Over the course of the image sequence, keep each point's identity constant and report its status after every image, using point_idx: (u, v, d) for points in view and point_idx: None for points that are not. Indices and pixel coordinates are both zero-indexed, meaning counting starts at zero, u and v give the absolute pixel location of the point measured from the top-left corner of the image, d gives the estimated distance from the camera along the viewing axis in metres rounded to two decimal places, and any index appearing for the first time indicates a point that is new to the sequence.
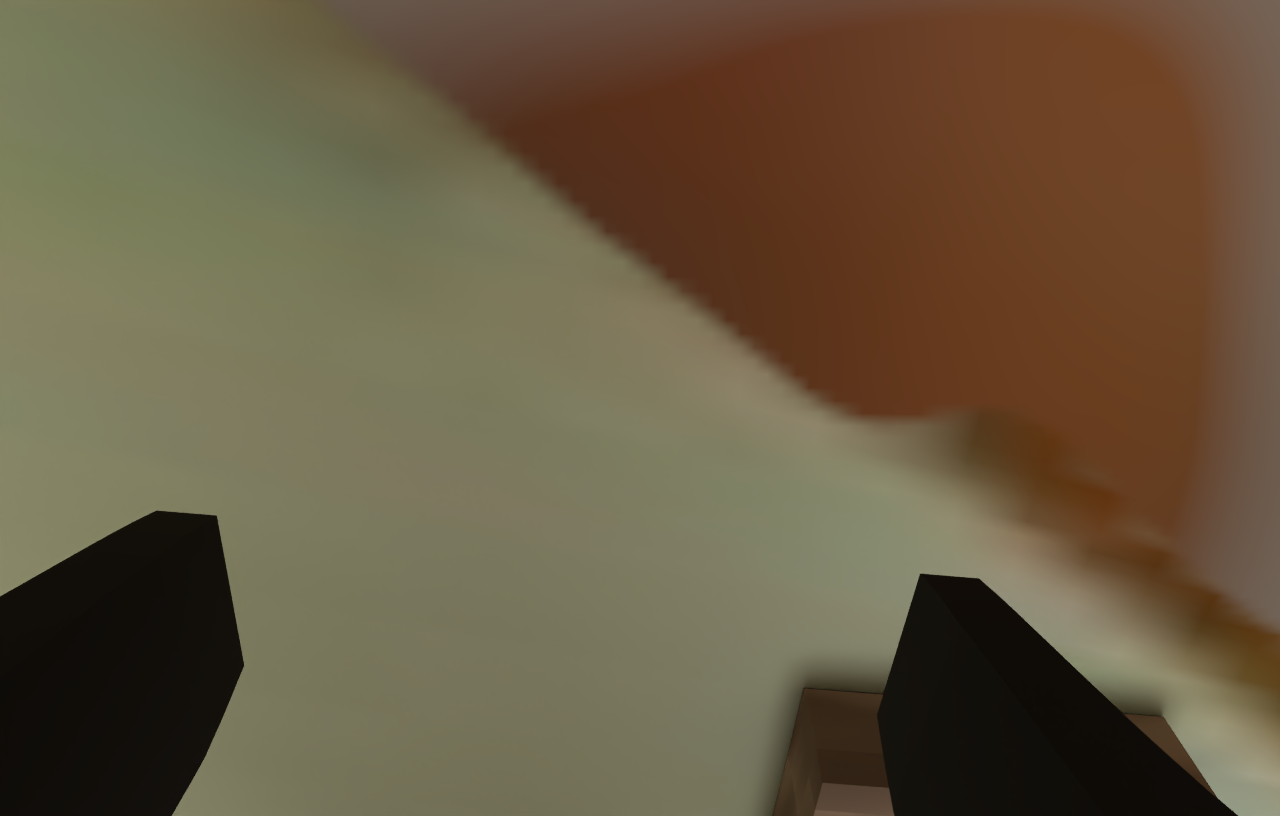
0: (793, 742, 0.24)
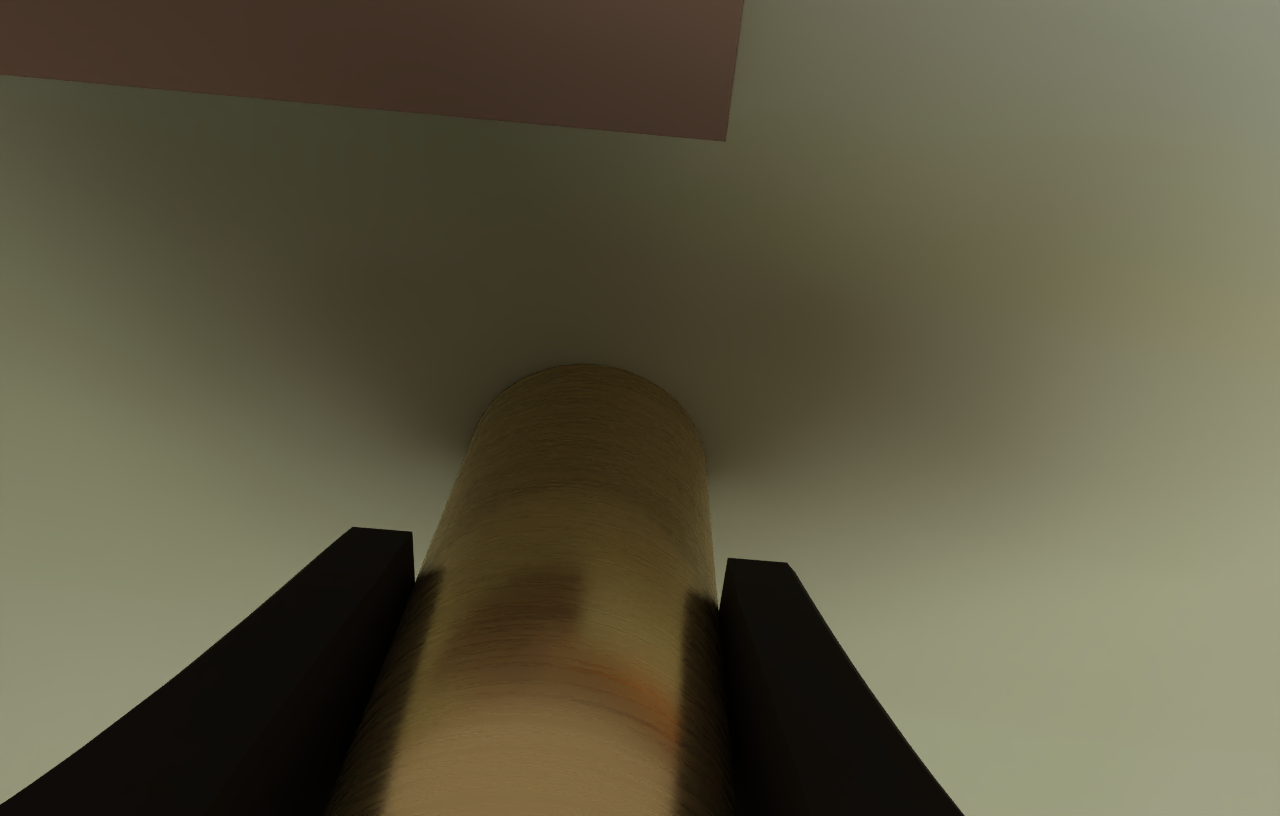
0: None
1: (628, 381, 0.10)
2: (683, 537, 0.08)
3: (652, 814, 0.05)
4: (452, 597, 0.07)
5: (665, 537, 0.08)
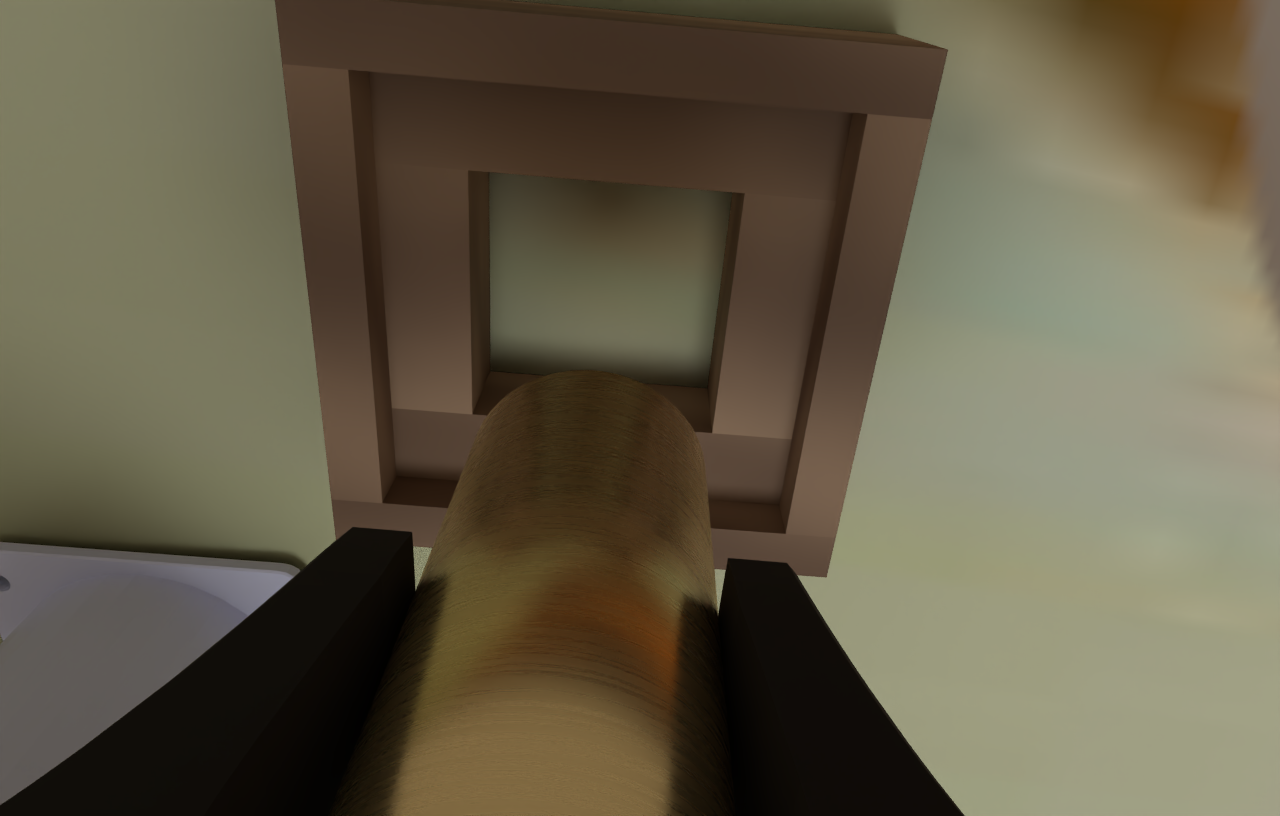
0: None
1: (621, 385, 0.11)
2: (677, 538, 0.08)
3: (640, 814, 0.05)
4: (445, 609, 0.07)
5: (657, 539, 0.08)
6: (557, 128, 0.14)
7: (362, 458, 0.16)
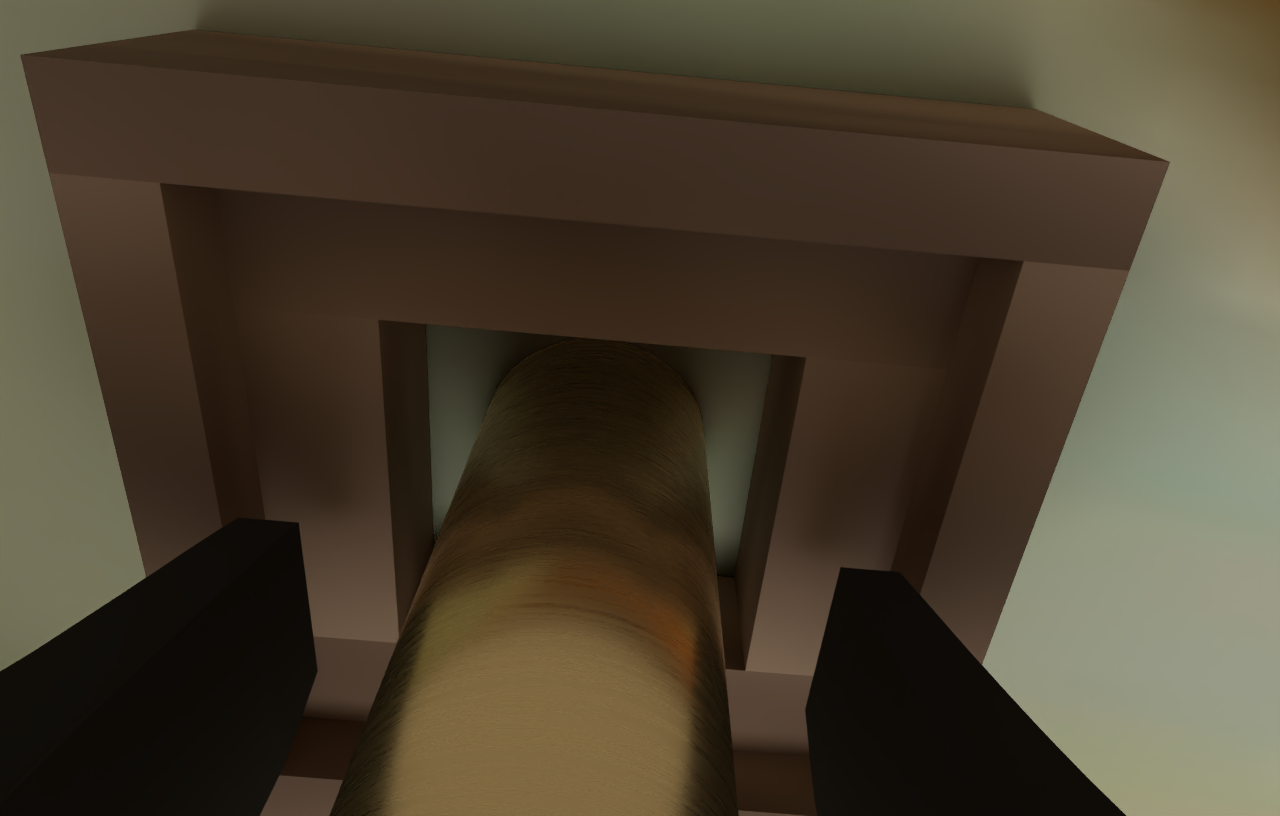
0: None
1: (626, 351, 0.11)
2: (677, 482, 0.09)
3: (645, 693, 0.06)
4: (470, 536, 0.08)
5: (660, 481, 0.09)
6: (515, 261, 0.09)
7: None
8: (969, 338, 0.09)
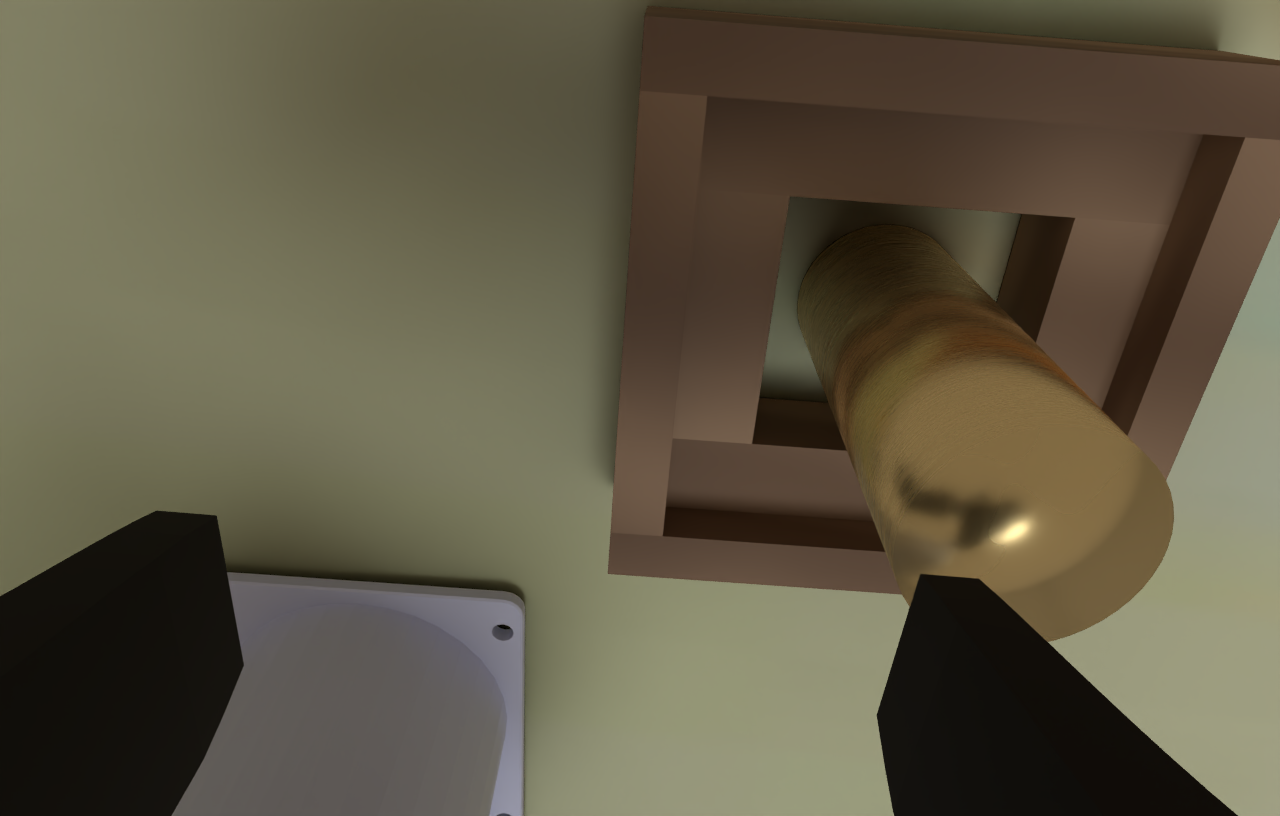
0: None
1: (914, 232, 0.16)
2: None
3: (1062, 372, 0.11)
4: (894, 318, 0.13)
5: (988, 296, 0.14)
6: (890, 152, 0.14)
7: (650, 491, 0.16)
8: (1192, 198, 0.14)
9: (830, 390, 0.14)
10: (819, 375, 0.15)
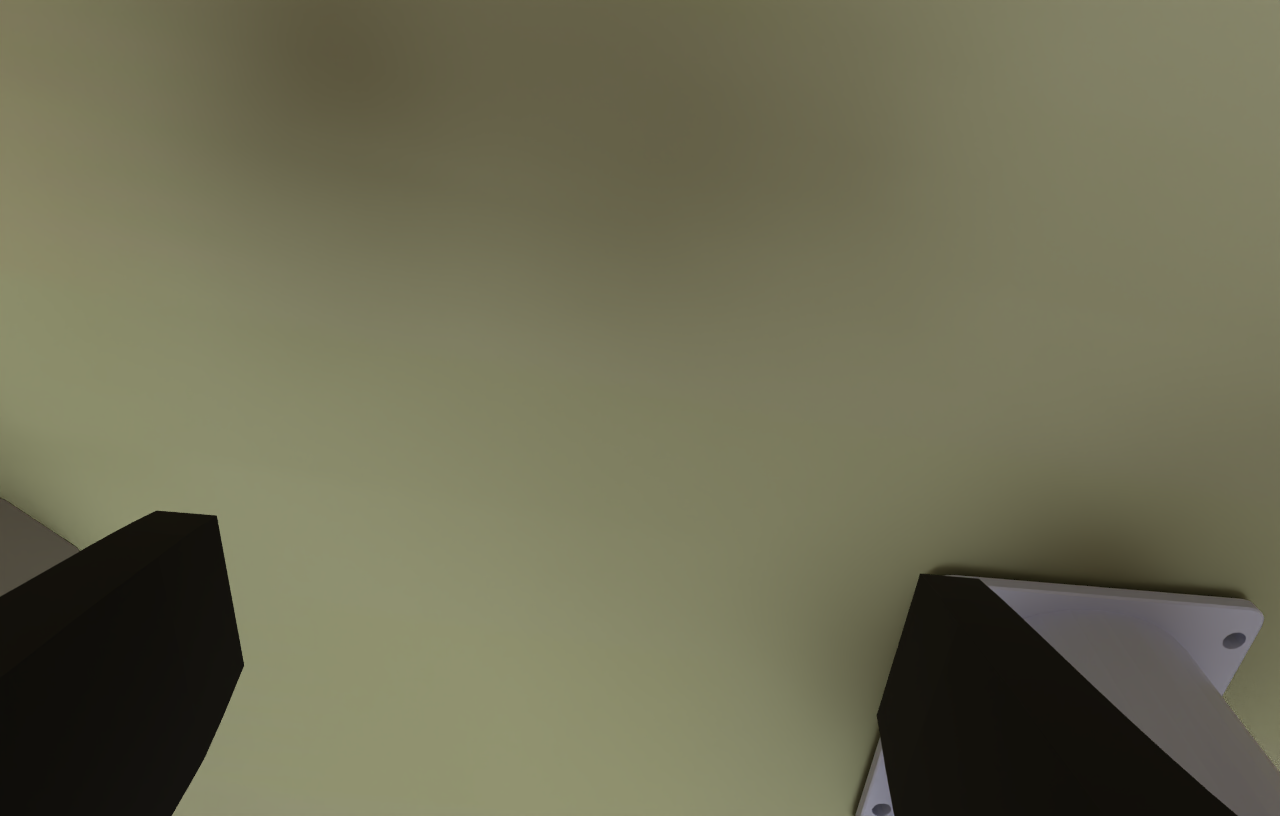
0: None
1: None
2: None
3: None
4: None
5: None
6: None
7: None
8: None
9: None
10: None
